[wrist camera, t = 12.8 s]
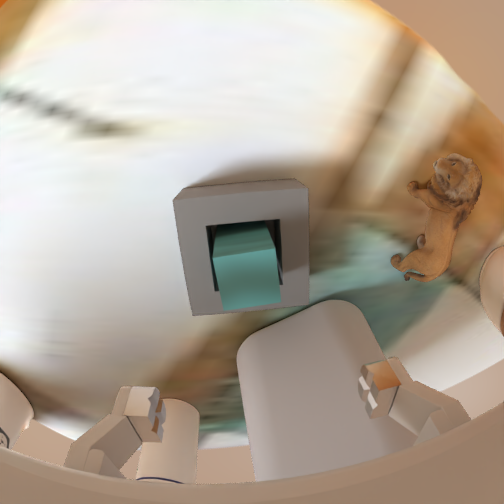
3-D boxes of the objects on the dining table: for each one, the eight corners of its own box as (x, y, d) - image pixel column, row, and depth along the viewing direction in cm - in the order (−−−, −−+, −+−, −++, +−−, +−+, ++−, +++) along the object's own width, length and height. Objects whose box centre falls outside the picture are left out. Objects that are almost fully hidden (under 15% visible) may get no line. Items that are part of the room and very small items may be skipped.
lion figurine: (398, 144, 26) (456, 153, 17) (438, 149, 26) (497, 161, 18) (386, 280, 31) (426, 325, 23) (423, 276, 32) (466, 315, 23)
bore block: (197, 288, 30) (192, 315, 25) (182, 188, 26) (172, 200, 22) (297, 278, 30) (308, 304, 26) (294, 178, 27) (308, 188, 22)
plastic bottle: (349, 281, 31) (500, 527, 5) (377, 366, 36) (463, 542, 10) (222, 340, 33) (227, 609, 7) (277, 410, 38) (309, 597, 12)
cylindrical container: (209, 413, 37) (208, 582, 14) (182, 432, 39) (172, 580, 16) (165, 391, 35) (139, 571, 12) (141, 413, 37) (113, 567, 14)
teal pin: (217, 222, 27) (212, 258, 19) (262, 215, 27) (275, 248, 19) (225, 263, 28) (223, 310, 21) (267, 257, 28) (281, 302, 21)
